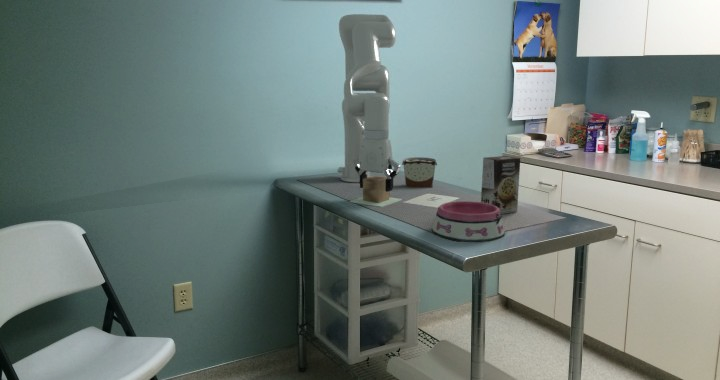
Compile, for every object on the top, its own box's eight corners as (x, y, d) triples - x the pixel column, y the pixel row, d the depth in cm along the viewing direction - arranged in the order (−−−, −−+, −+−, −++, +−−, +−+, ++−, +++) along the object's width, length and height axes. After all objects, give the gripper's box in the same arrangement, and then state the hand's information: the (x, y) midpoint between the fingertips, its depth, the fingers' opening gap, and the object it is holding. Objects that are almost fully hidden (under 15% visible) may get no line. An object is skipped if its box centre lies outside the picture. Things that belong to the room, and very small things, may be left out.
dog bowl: (444, 220, 164) (445, 196, 163) (511, 228, 157) (512, 203, 155) (422, 237, 148) (422, 210, 147) (495, 246, 140) (496, 219, 139)
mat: (349, 202, 185) (349, 201, 185) (371, 195, 194) (371, 194, 194) (381, 207, 178) (381, 206, 178) (402, 200, 188) (402, 199, 187)
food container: (436, 184, 212) (436, 157, 210) (436, 188, 206) (437, 160, 204) (402, 184, 213) (402, 156, 211) (401, 187, 207) (401, 159, 205)
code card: (402, 202, 184) (402, 202, 184) (427, 193, 197) (427, 193, 197) (436, 208, 177) (436, 207, 177) (460, 198, 190) (460, 197, 190)
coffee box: (494, 215, 168) (496, 160, 165) (479, 210, 174) (482, 157, 171) (518, 212, 172) (521, 157, 169) (503, 207, 178) (506, 154, 175)
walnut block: (363, 200, 185) (362, 178, 184) (373, 197, 190) (373, 176, 189) (378, 203, 182) (378, 181, 181) (389, 199, 187) (389, 178, 185)
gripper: (346, 134, 184) (347, 187, 187) (393, 138, 174) (392, 194, 177) (360, 132, 190) (360, 184, 193) (406, 135, 180) (405, 190, 183)
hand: (376, 189), depth 185 cm, fingers open, 9 cm apart
